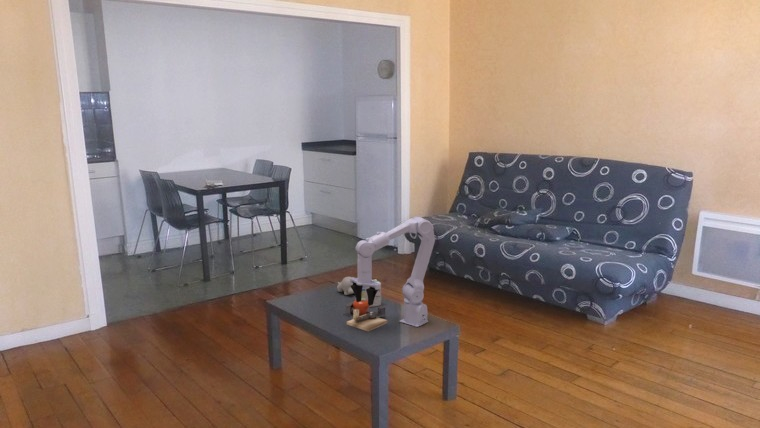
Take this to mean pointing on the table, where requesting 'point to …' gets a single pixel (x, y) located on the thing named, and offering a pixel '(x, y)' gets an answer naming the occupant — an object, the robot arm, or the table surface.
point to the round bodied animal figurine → (345, 286)
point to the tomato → (361, 306)
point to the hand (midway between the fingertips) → (364, 303)
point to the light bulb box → (377, 297)
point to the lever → (368, 314)
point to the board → (367, 323)
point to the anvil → (349, 309)
